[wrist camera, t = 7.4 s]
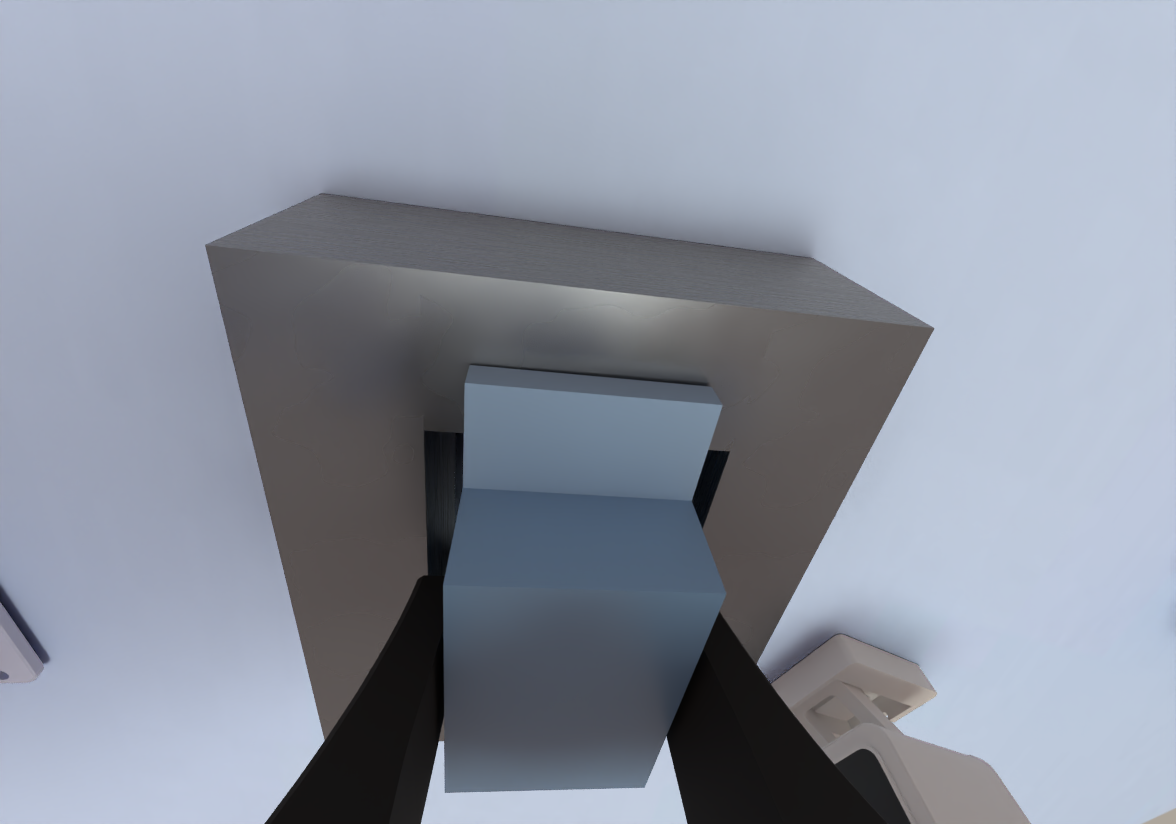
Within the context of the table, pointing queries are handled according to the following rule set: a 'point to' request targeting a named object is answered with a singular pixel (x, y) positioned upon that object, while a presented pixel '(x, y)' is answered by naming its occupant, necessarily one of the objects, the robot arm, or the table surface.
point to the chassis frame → (539, 343)
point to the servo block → (574, 578)
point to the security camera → (889, 738)
